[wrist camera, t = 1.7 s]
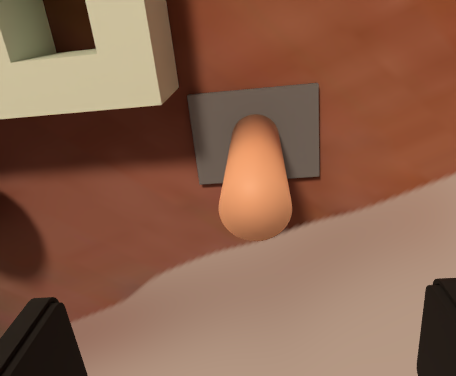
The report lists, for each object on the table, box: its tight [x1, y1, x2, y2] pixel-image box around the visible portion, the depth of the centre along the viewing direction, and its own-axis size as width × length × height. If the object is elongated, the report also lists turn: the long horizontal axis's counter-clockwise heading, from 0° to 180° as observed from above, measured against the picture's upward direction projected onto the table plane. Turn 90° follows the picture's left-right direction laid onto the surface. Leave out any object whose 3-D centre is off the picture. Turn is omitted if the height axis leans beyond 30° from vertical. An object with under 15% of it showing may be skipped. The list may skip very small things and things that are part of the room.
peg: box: [219, 114, 292, 241], centre depth 21 cm, size 3×3×10 cm
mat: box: [187, 83, 319, 184], centre depth 26 cm, size 8×6×1 cm
